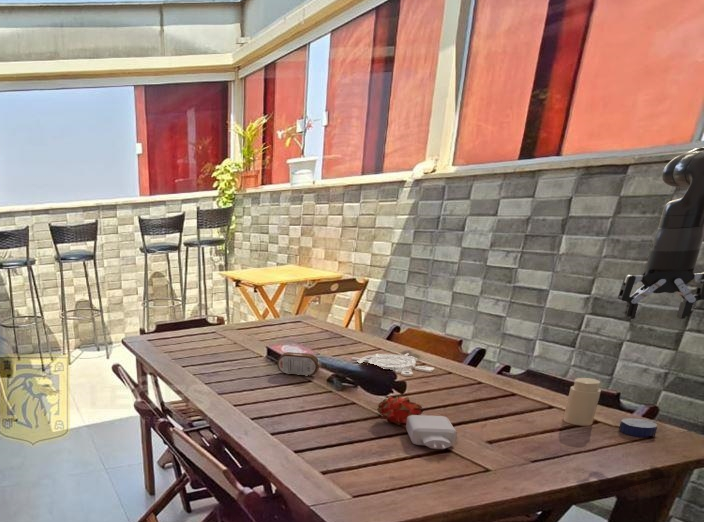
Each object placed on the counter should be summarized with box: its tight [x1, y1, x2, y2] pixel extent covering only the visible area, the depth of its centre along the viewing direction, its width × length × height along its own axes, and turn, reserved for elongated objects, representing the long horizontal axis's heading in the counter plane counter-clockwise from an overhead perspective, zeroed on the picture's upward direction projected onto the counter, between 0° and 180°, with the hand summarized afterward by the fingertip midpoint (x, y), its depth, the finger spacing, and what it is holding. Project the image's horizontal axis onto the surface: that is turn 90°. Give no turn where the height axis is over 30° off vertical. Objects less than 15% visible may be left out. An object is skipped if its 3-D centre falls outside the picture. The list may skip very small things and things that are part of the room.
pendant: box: [351, 352, 436, 377], centre depth 183 cm, size 21×28×1 cm
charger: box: [405, 414, 458, 450], centre depth 123 cm, size 5×9×15 cm
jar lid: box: [618, 417, 658, 438], centre depth 118 cm, size 6×6×2 cm
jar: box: [562, 377, 602, 427], centre depth 125 cm, size 6×6×11 cm
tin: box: [276, 351, 321, 377], centre depth 183 cm, size 15×3×8 cm, turn 52°
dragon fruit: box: [376, 395, 425, 426], centre depth 136 cm, size 8×8×12 cm
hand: (655, 318), depth 117 cm, fingers open, 8 cm apart
